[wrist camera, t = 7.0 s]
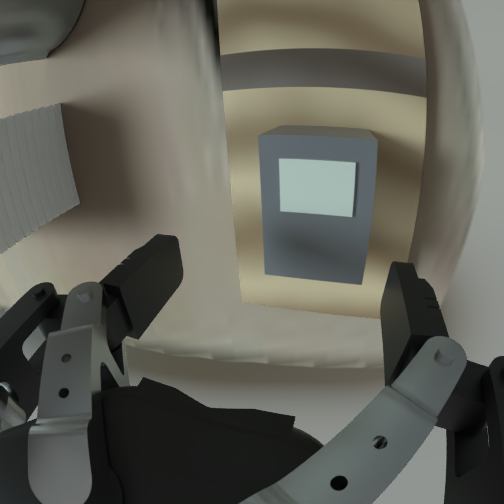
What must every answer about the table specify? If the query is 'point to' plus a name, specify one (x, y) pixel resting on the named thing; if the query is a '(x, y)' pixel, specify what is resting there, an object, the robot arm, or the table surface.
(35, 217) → the white rectangular block
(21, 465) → the robot arm
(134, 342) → the table surface
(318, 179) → the block
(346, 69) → the board
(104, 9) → the table surface
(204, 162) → the table surface
